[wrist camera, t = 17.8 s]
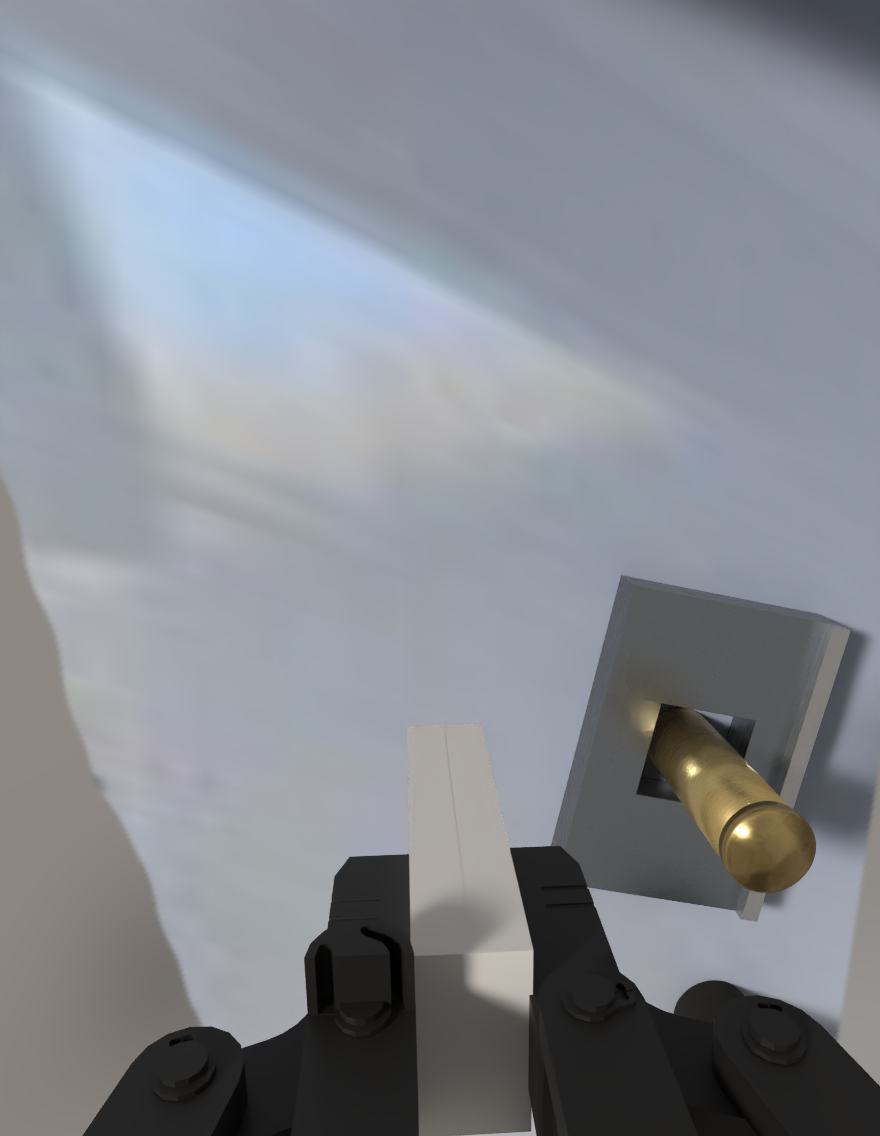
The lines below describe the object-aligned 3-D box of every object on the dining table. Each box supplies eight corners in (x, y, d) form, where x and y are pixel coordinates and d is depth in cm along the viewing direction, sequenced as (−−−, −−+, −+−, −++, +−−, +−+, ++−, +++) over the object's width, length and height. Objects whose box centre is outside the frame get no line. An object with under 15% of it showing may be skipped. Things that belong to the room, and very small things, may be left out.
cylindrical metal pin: (654, 701, 46) (740, 802, 34) (720, 713, 47) (827, 818, 35) (636, 764, 47) (714, 885, 35) (701, 776, 47) (800, 899, 36)
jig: (621, 575, 44) (638, 588, 41) (818, 614, 46) (850, 630, 42) (548, 857, 48) (559, 890, 45) (733, 887, 49) (756, 921, 46)
